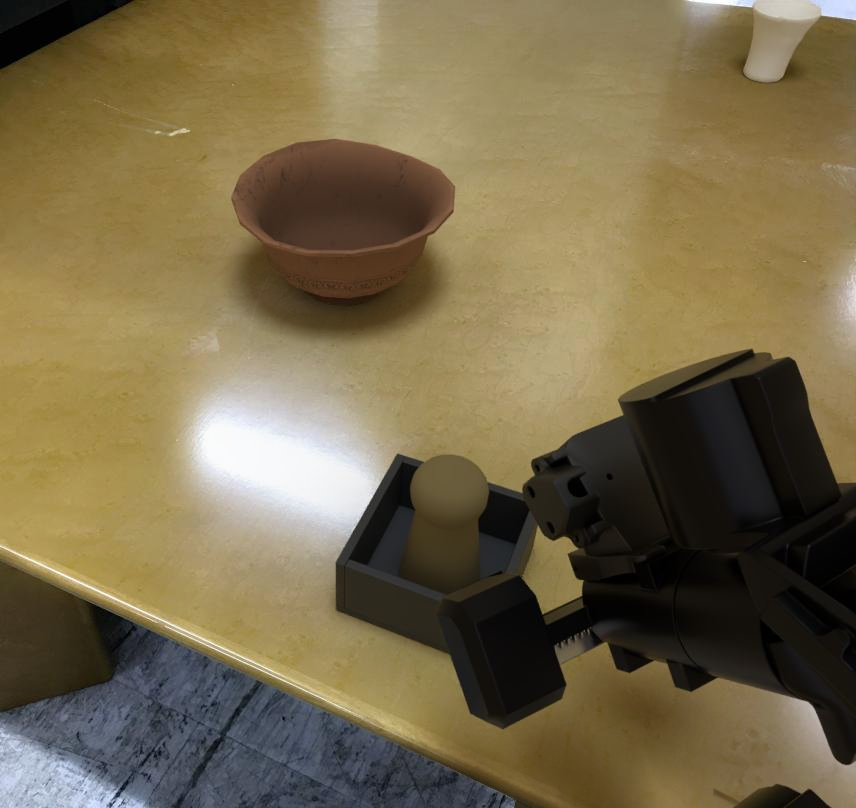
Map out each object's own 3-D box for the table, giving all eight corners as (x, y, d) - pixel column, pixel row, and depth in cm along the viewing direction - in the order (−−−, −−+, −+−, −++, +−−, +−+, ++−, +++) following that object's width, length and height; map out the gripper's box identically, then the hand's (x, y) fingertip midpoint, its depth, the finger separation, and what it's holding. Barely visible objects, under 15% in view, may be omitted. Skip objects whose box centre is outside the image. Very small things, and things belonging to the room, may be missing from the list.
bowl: (385, 208, 106) (388, 120, 98) (489, 308, 91) (502, 213, 84) (209, 256, 99) (199, 165, 92) (291, 372, 84) (286, 275, 77)
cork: (480, 613, 64) (499, 512, 56) (395, 605, 64) (402, 504, 57) (480, 546, 68) (497, 444, 61) (400, 538, 69) (407, 437, 61)
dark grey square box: (532, 548, 69) (544, 499, 65) (487, 669, 61) (497, 622, 57) (394, 501, 72) (397, 452, 69) (335, 609, 65) (335, 562, 61)
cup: (725, 81, 130) (747, 10, 123) (740, 59, 135) (761, -11, 129) (790, 94, 126) (816, 21, 119) (803, 70, 132) (828, 0, 125)
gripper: (828, 360, 40) (614, 395, 55) (479, 505, 34) (345, 501, 49) (907, 593, 40) (673, 566, 55) (573, 777, 35) (411, 691, 49)
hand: (532, 575), depth 52 cm, fingers open, 9 cm apart
